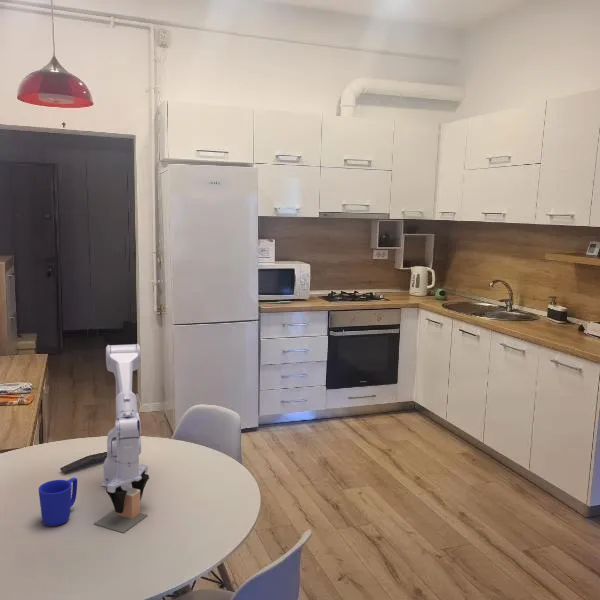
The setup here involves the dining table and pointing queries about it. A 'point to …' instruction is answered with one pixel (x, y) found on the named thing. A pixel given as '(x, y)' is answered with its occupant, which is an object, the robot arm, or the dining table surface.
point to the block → (131, 503)
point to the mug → (57, 500)
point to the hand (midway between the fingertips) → (128, 506)
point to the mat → (119, 521)
